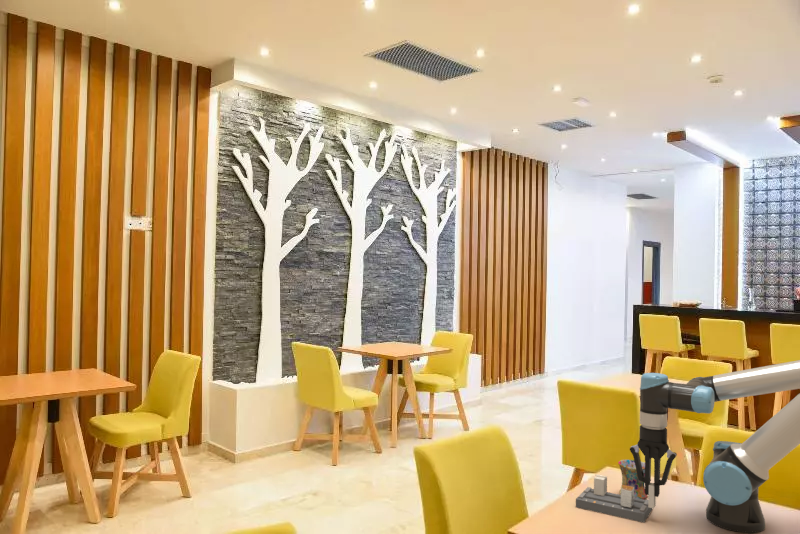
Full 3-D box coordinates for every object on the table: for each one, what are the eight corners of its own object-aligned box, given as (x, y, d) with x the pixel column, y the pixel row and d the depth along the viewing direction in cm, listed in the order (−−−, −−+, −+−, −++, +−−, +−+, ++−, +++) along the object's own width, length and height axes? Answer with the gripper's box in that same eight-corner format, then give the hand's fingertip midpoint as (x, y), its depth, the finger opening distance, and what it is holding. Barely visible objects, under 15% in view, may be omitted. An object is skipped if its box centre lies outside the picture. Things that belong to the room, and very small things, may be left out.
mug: (652, 502, 193) (653, 469, 193) (622, 501, 194) (623, 468, 194) (640, 489, 205) (640, 457, 205) (612, 488, 206) (612, 456, 206)
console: (652, 509, 188) (652, 482, 188) (644, 522, 178) (644, 494, 178) (586, 495, 198) (587, 470, 199) (575, 507, 188) (576, 480, 188)
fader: (634, 503, 184) (634, 485, 184) (631, 508, 181) (631, 489, 181) (623, 501, 186) (623, 483, 186) (620, 505, 183) (620, 486, 183)
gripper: (679, 427, 179) (678, 507, 179) (633, 420, 187) (631, 497, 186) (675, 432, 173) (673, 515, 173) (627, 425, 180) (625, 505, 180)
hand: (651, 506), depth 180 cm, fingers closed
